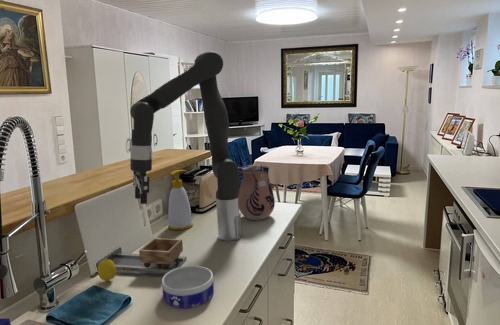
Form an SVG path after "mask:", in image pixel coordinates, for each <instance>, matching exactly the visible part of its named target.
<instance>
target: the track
mask: <svg viewBox="0 0 500 325" xmlns="http://www.w3.org/2000/svg"><path fill="white" fill-rule="evenodd" d="M118 247H119V248H118V249H116V248H115V249H116V250H114V249H113V250H114V251H113V250H112V251H113V252H111V251H110V252H111V253H110V252H109V253H110V254H109V253H108V255H107V254H106V255H107V256H106V255H105V256H103V257H104V258H103V257H102V258H103V259H102V258H100V259H99V260H100V261H99V260H98V261H97V263H96V262H95V263H96V267H97V271H98V266H99V264H100V262H101V261H103V260H104V259H110V260H112V261H113V262H114V264H115V266H116V274H115V275H125V276H141V277H152V278H163V277H164V275H165V274H166V273H168V272H169V271H171V270H173V269H176V268H179V267H182V265H183V264H185V262H186V261H187V256H180V255H179V256H178V257H177V258H176V259H175V260H174V261H173V262H172V263H171V264H170V266H169V267H168V268H167V269H165V268H164V267H163V264H158V263H151V265H150V266H149V267H148V268H147V267H145V266H144V263H141V262H140V255H139V253H123V251H122V247H120V246H118ZM96 267H95V268H96Z"/></svg>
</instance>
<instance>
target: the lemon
mask: <svg viewBox="0 0 500 325" xmlns="http://www.w3.org/2000/svg"><path fill="white" fill-rule="evenodd" d="M97 274H98V277H99V278H100V280H103V281H106V282H110V281H111V280H113V279H114V277H115V276H116V275H117V274H116V266H115V264H114V262H113V261H112V260H110V259H104V260H103V261H101V262H100V264H99V266H98V273H97Z"/></svg>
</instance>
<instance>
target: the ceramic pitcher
mask: <svg viewBox="0 0 500 325" xmlns="http://www.w3.org/2000/svg"><path fill="white" fill-rule="evenodd" d="M238 168H239V173H241V175H242V181H241V183H240V185H239V192H238V199H239V213H241V215H242V216H243V217H245V219H248V220H252V221H261V220H265V219H267V218H268V217H270V215H271V214H272V213H273V211H274V209H275V195H274V190H273V187H272V184H271V181H270V177H269V170H270V167H269V166H266V165H262V164H259V163H258V164H248V165H244V166H238Z"/></svg>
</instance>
